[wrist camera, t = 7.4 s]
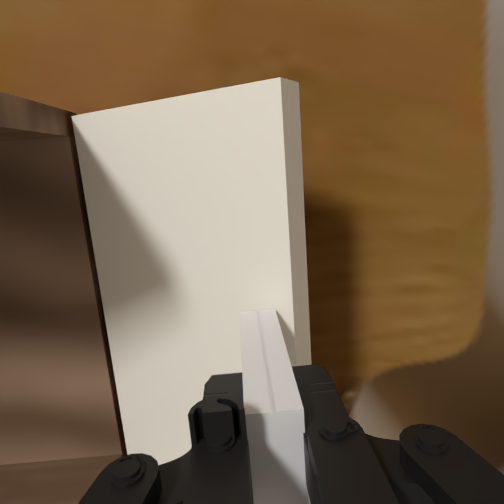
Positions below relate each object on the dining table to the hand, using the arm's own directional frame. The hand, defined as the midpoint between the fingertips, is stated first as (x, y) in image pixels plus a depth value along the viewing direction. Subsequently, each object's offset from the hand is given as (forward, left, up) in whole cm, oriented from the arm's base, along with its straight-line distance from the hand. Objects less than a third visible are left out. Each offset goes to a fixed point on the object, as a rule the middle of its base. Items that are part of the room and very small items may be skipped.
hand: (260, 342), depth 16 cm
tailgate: (0, +8, -6) cm, 10 cm away
